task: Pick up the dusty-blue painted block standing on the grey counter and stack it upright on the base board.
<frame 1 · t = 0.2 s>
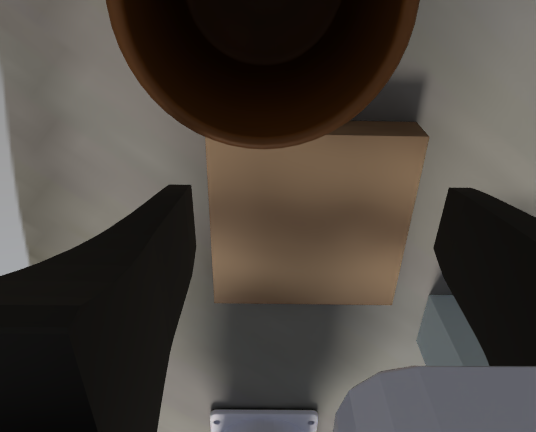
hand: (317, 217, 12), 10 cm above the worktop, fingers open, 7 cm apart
block: (453, 318, 28), on the worktop
base: (306, 209, 24), on the worktop
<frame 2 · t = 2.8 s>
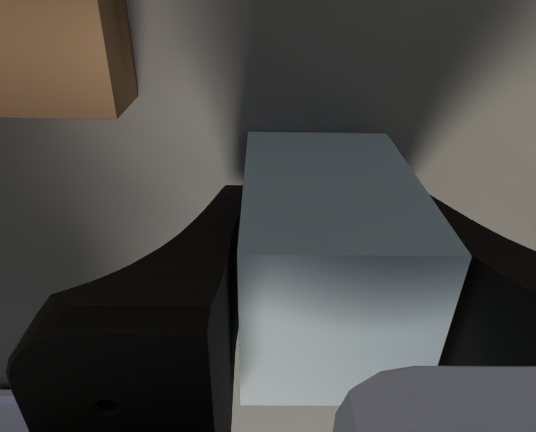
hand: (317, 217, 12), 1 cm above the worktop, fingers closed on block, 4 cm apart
block: (312, 193, 14), on the worktop, touching gripper
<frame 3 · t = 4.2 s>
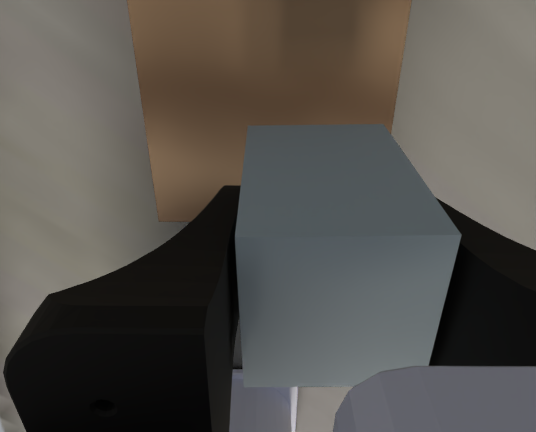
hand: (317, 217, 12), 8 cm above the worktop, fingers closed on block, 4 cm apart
block: (312, 185, 14), point 7 cm above the worktop, touching gripper
base: (268, 100, 19), on the worktop
when the fingers open (5 cm above the worktop, at t = 5.8 s): block stays where it is, resting on base.
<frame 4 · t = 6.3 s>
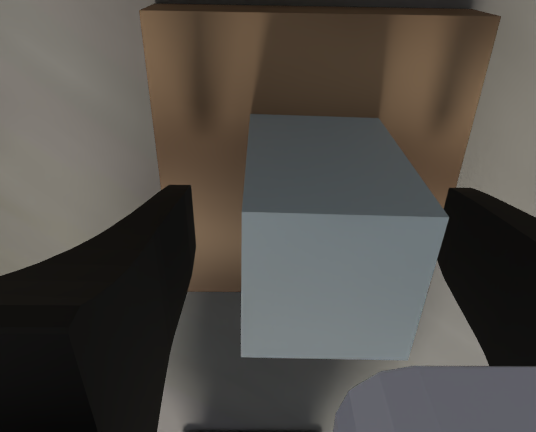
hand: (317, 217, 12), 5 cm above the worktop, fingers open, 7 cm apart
block: (309, 174, 15), point 2 cm above the worktop, touching base
base: (304, 154, 16), on the worktop
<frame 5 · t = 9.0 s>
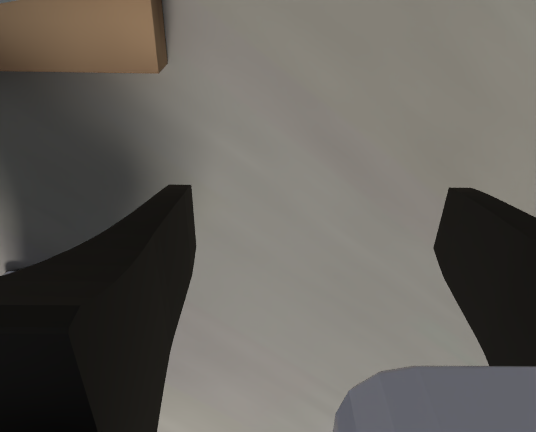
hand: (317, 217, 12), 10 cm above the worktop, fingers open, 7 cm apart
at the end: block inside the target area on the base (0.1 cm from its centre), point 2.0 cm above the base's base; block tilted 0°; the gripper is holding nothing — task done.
